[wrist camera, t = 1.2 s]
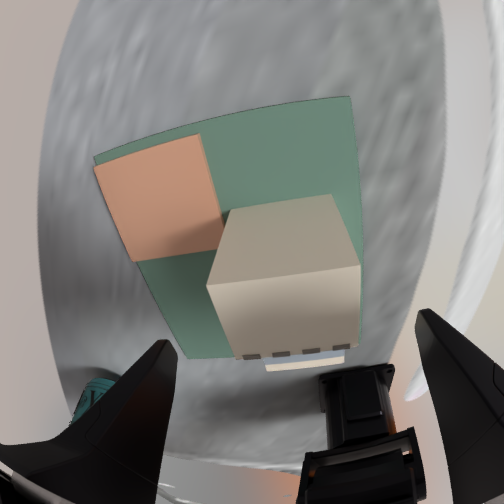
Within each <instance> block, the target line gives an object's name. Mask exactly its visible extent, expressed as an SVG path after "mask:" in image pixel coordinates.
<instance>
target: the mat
mask: <svg viewBox="0 0 504 504" xmlns="http://www.w3.org/2000/svg"><path fill="white" fill-rule="evenodd" d="M197 133H200V137H201V141H202V144H203V148H204V152H205V155H206V159H207V162H208V166H209V170H210V173H211V177H212V181H213V184H214V188H215V191H216V195H217V198H218V202H219V205H220V209H221V212H222V216H223V219H224V223H225V225H226V222H227V219H228V216H229V213H230V210H231V209H236V208H242V207H248V206H254V205H260V204H266V203H272V202H279V201H285V200H292V199H298V198H305V197H312V196H319V195H326V194H331V195H332V197H333V199H334V201H335V204H336V206H337V208H338V210H339V213H340V215H341V217H342V220H343V222H344V225H345V227H346V229H347V232H348V234H349V237H350V239H351V242H352V244H353V247H354V249H355V252H356V254H357V257H358V259H359V262H360V265H361V294H360V324H359V342H358V344H360V340H361V324H362V302H363V228H362V205H361V189H360V176H359V164H358V154H357V145H356V136H355V128H354V120H353V113H352V106H351V100H350V96H342V97H332V98H322V99H314V100H306V101H299V102H292V103H285V104H279V105H273V106H268V107H262V108H257V109H252V110H247V111H242V112H237V113H233V114H228V115H224V116H220V117H215V118H211V119H207V120H203V121H199V122H196V123H192V124H188V125H185V126H181V127H178V128H174V129H171V130H168V131H164V132H161V133H158V134H155V135H152V136H148V137H145V138H142V139H139V140H137V141H134V142H131V143H128V144H125V145H122V146H120V147H117V148H114V149H112V150H109V151H106V152H104V153H101V154H99V155H97V156H95V157H94V158H95V161H96V164H97V165H99V164H102V163H104V162H107V161H110V160H112V159H115V158H118V157H121V156H124V155H127V154H130V153H133V152H136V151H139V150H142V149H145V148H148V147H151V146H154V145H158V144H161V143H164V142H168V141H171V140H175V139H178V138H182V137H185V136H189V135H193V134H197ZM217 250H218V249H215V250H208V251H201V252H195V253H188V254H181V255H175V256H168V257H162V258H155V259H149V260H142V261H136V262H137V264H138V266H139V268H140V270H141V272H142V274H143V276H144V279H145V281H146V283H147V285H148V287H149V289H150V291H151V293H152V295H153V297H154V299H155V301H156V302H157V304H158V306H159V308H160V310H161V312H162V314H163V316H164V318H165V320H166V321H167V323H168V325H169V327H170V329H171V331H172V332H173V334H174V336H175V338H176V339H177V341H178V343H179V345H180V347H181V348H182V350H183V352H184V353H185V355H186V357H187V359H204V358H229V357H235V356H234V354H233V351H232V349H231V347H230V344H229V342H228V339H227V337H226V335H225V332H224V330H223V327H222V325H221V322H220V320H219V317H218V315H217V312H216V310H215V307H214V305H213V302H212V300H211V297H210V294H209V292H208V289H207V287H206V284H207V281H208V278H209V275H210V272H211V268H212V265H213V262H214V259H215V256H216V253H217Z"/></svg>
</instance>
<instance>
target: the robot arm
mask: <svg viewBox="0 0 504 504" xmlns="http://www.w3.org/2000/svg"><path fill="white" fill-rule="evenodd" d="M415 334H416V338H417V343H418V347H419V352H420V357H421V362H422V366H423V370H424V374H425V377H426V380H427V384H428V387H429V390H430V394H431V397H432V401H433V404H434V407H435V412H436V415H437V419H438V423H439V427H440V432H441V436H442V440H443V444H444V449H445V454H446V459H447V465H448V466H449V467H448V471H449V476H450V482H451V489H452V496H453V504H483V503H485V504H504V370H503V369H502V368H501V367H500V366H499V365H498V364H497V363H494V361H493V360H492V359H491V358H489V357H488V356H487V355H486V354H485V353H484V352H483V351H481V350H480V349H479V348H478V347H477V346H475V345H474V344H473V343H472V342H471V341H470V340H468V339H467V338H466V337H465V336H464V335H462V334H461V333H460V332H459V331H457V330H456V329H455V328H454V327H452V326H451V325H450V324H449V323H448V322H446V321H445V320H444V319H443V318H441V317H440V316H439V315H437V314H436V313H435V312H434V311H432V310H431V309H429V308H427V309H422V310H419V312H418V315H417V319H416V324H415ZM177 361H178V356H177V353H176V351H175V349H174V347H173V346H172V344H171V342H170V341H169V340H167V339H162V340H157V341H156V342H155V343H154V344H153V345H152V346H151V347H150V348H149V349H148V350H147V351H146V352H145V353H144V354H143V355H142V356H141V357H140V358H139V359H138V360H137V361H136V362H135V363H134V364H133V365H132V366H131V367H130V368H129V369H128V370H127V371H126V372H125V373H124V374H123V375H122V376H121V377H120V378H119V379H118V380H117V381H116V382H115V383H114V384H113V385H112V386H111V387H110V388H109V389H108V390H107V391H106V392H105V393H104V394H103V395H102V396H101V397H100V399H98V400H97V401H96V402H95V403H94V404H93V405H92V406H91V407H90V408H89V409H88V410H87V411H86V412H85V413H84V414H83V415H82V416H81V417H79V418H78V419H77V420H76V421H75V422H74V423H72V424H71V425H70V426H69V427H68V428H66V429H65V430H64V431H63V432H62V433H60V435H58V436H56V437H55V438H53V439H51V440H48V441H43V442H35V443H27V444H18V445H3V444H1V443H0V461H1V462H2V463H4V464H5V465H6V466H8V467H9V468H11V469H12V470H13V474H12V476H10V475H9V474H7V473H5V472H4V471H2V470H1V469H0V504H155V501H156V494H157V488H158V486H157V485H158V480H159V474H160V468H161V463H162V456H163V451H164V445H165V440H166V434H167V429H168V424H169V419H170V413H171V408H172V403H173V398H174V393H175V383H176V372H177ZM394 372H395V367H394V365H393V364H388V365H382V366H377V367H372V368H366V369H361V370H354V371H348V372H342V373H335V374H327V375H322V376H320V377H319V378H318V380H319V393H320V407H321V412H322V413H326V428H327V445H328V450H324V451H319V452H306V453H305V460H304V461H303V466H302V473H301V480H300V485H299V491H298V497H297V499H296V504H417V502H418V501H421V500H424V499H426V482H425V474H424V469H423V464H422V459H421V455H420V451H419V446H418V442H417V437H416V434H415V430H414V427H410V428H407V430H404V431H401V432H398V433H397V432H396V427H395V421H394V416H393V412H392V407H391V402H390V397H389V390H390V387H391V383H392V380H393V376H394ZM405 451H409V454H406V455H403V454H402V452H405Z"/></svg>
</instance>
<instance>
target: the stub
mask: <svg viewBox="0 0 504 504" xmlns="http://www.w3.org/2000/svg"><path fill="white" fill-rule="evenodd" d="M206 287H207V289H208V292H209V294H210V297H211V300H212V302H213V305H214V307H215V310H216V312H217V315H218V317H219V320H220V322H221V325H222V327H223V330H224V332H225V335H226V337H227V339H228V342H229V344H230V347H231V349H232V351H233V354H234V356H235V358H236V360H237V359H244V360H251V359H261V358H266V357H273V358H277V357H287V356H290V355H298V354H303V355H306V354H314V353H320V352H323V351H330V350H333V351H337V350H343V349H350V347H357V346H358V342H359V324H360V294H361V265H360V262H359V259H358V257H357V254H356V252H355V249H354V247H353V244H352V242H351V239H350V237H349V234H348V232H347V229H346V227H345V225H344V222H343V220H342V217H341V215H340V213H339V210H338V208H337V206H336V204H335V201H334V199H333V197H332V195H331V194H326V195H319V196H312V197H305V198H298V199H292V200H285V201H279V202H272V203H266V204H260V205H254V206H248V207H242V208H236V209H231V210H230V213H229V216H228V219H227V222H226V225H225V228H224V231H223V234H222V237H221V240H220V243H219V247H218V250H217V253H216V256H215V259H214V262H213V265H212V268H211V272H210V275H209V278H208V281H207V284H206Z"/></svg>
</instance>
